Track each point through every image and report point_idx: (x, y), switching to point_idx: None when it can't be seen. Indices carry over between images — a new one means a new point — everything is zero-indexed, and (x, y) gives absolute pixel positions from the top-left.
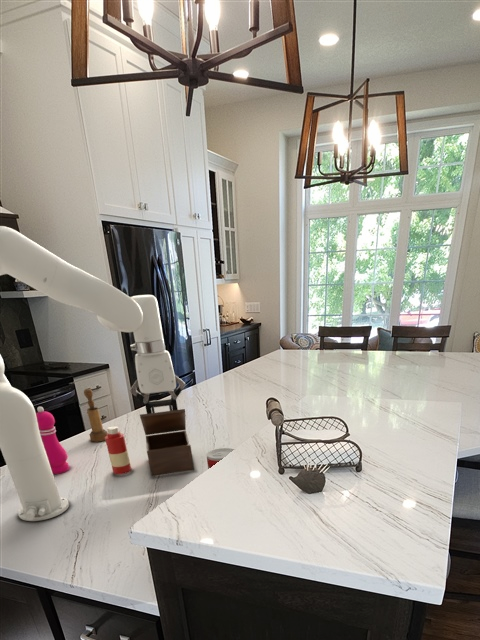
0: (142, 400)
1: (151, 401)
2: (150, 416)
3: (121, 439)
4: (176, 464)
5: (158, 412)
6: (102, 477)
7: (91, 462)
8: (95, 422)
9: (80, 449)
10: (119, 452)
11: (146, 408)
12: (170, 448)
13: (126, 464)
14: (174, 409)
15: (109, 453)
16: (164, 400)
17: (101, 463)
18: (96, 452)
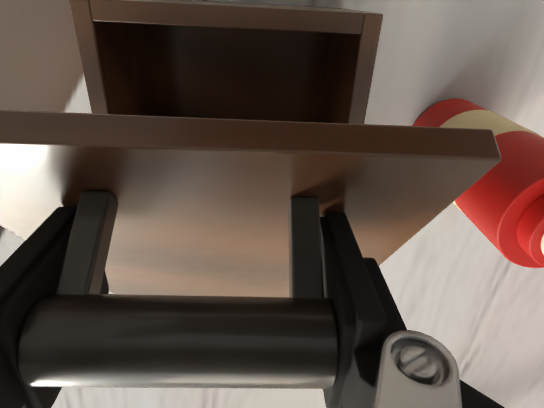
0: (462, 390)
1: (314, 370)
2: (358, 131)
3: (524, 175)
4: (210, 2)
5: (247, 148)
6: (533, 122)
7: (512, 282)
8: None
9: (502, 385)
10: (511, 134)
11: (383, 291)
12: (217, 5)
13: (450, 120)
14: (46, 230)
15: None
16: (117, 355)
17: (486, 262)
18: (469, 351)
